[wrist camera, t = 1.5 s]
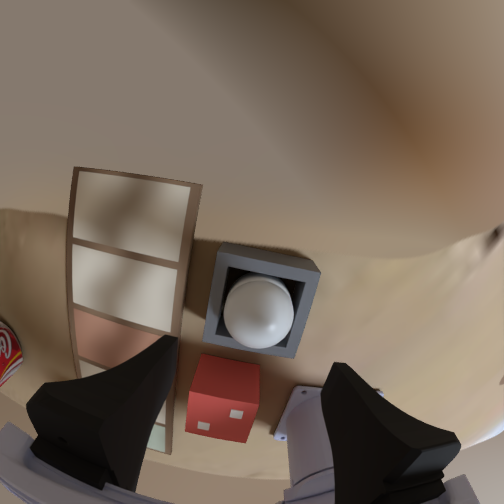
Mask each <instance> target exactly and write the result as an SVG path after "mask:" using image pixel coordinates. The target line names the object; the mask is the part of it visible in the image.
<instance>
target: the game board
mask: <svg viewBox="0 0 504 504" xmlns="http://www.w3.org/2000/svg"><path fill="white" fill-rule="evenodd" d="M202 188H203V185H201V184H195V183H190V182H184V181H178V180H172V179H166V178H160V177H153V176H146V175H139V174H133V173H125V172H118V171H110V170H102V169H93V168H84V167H74V170H73V177H72V184H71V192H70V202H69V213H68V228H67V297H68V312H69V323H70V333H71V341H72V348H73V355H74V361H75V367H76V373H77V378H78V379H79V378H84V377H88V376H91V375H94V374H97V373H100V372H103V371H106V370H108V369H111V368H113V367H115V366H117V365H119V364H121V363H123V362H125V361H127V360H128V359H130V358H132V357H133V356H135V355H137V354H138V353H140V352H141V351H143V350H144V349H146V348H147V347H148V346H150V345H151V344H153V343H154V342H155V341H157V340H158V339H159V338H161V337H162V336H163V335H165V334H166V335H171V336H175V337H178V348H177V362H176V373H175V376H174V380H173V383H172V386H171V389H170V391H169V393H168V396H167V398H166V400H165V402H164V404H163V406H162V409H161V411H160V413H159V415H158V417H157V419H156V422H155V424H154V426H153V429H152V431H151V435H150V438H149V441H148V444H147V448H148V449H151V450H154V451H158V452H161V453H165V454H168V455H171V453H172V437H173V416H174V400H175V386H176V374H177V363H178V352H179V342H180V333H181V324H182V316H183V307H184V300H185V292H186V285H187V277H188V271H189V264H190V257H191V251H192V245H193V238H194V232H195V226H196V221H197V215H198V209H199V204H200V198H201V193H202Z"/></svg>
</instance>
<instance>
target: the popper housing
mask: <svg viewBox="0 0 504 504" xmlns="http://www.w3.org/2000/svg"><path fill="white" fill-rule="evenodd" d="M230 267H234V268H238V269H243V270H248V271H253V272H257V273H262V274H267V275H272V276H277V277H282V278H287V279H292V280H296V284H295V288H294V291H293V295H292V299H291V301H292V305H293V311H294V318H293V323H292V326H291V328H290V330H289V332H288V334H287V335H286V336H285V337H284V338H283V339H282V340H281V341H280V342H279V343H277V344H275V345H273V346H271V347H268V348H261V349H256V348H250V347H247V346H244V345H242V344H240V343H239V342H237V341H236V340H235V339H234V338H233V337H232V336H231V335H230V333H229V331H228V330H227V328H226V325H225V321H224V316H221V311H222V306H223V300H224V295H225V290H226V285H227V279H228V274H229V269H230ZM320 275H321V272H320V271H319V269H318V268H317V266H316V265H315V263H314V262H313V260H308V259H304V258H299V257H294V256H290V255H285V254H280V253H275V252H271V251H266V250H261V249H256V248H252V247H247V246H242V245H237V244H233V243H228V242H223V243H222V245H221V246H220V248H219V250H218V251H217V257H216V262H215V268H214V273H213V279H212V285H211V291H210V297H209V303H208V309H207V315H206V321H205V327H204V334H203V340H202V341H203V342H207V343H211V344H216V345H221V346H225V347H230V348H235V349H240V350H246V351H251V352H256V353H262V354H268V355H274V356H280V357H287V358H293V359H294V357H295V354H296V352H297V349H298V346H299V343H300V340H301V337H302V334H303V331H304V328H305V324H306V321H307V318H308V315H309V312H310V309H311V305H312V302H313V299H314V295H315V292H316V289H317V285H318V282H319V278H320Z"/></svg>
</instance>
